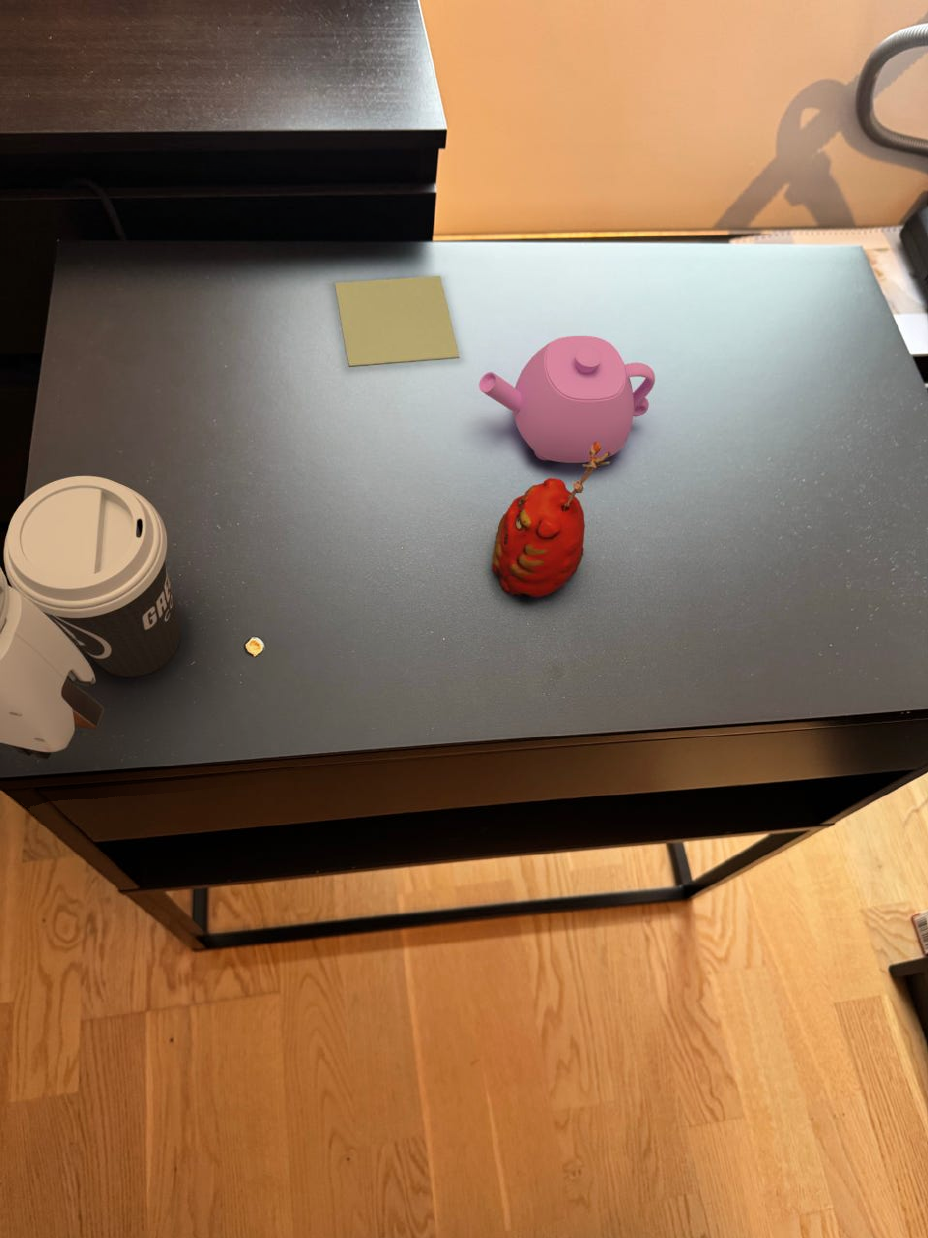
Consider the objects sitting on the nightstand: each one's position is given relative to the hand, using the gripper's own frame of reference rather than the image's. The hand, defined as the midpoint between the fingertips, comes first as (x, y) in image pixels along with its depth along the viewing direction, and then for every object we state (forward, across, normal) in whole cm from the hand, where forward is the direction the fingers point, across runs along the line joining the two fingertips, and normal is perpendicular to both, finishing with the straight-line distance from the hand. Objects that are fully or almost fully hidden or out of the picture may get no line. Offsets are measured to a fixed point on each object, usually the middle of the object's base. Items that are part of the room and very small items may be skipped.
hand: (46, 733), depth 56 cm
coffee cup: (+8, 0, +10) cm, 13 cm away
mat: (+8, +10, +46) cm, 48 cm away
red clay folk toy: (+8, +27, +24) cm, 38 cm away
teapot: (+8, +27, +38) cm, 48 cm away
